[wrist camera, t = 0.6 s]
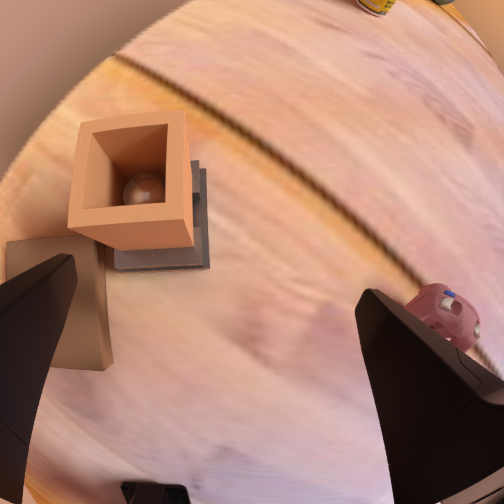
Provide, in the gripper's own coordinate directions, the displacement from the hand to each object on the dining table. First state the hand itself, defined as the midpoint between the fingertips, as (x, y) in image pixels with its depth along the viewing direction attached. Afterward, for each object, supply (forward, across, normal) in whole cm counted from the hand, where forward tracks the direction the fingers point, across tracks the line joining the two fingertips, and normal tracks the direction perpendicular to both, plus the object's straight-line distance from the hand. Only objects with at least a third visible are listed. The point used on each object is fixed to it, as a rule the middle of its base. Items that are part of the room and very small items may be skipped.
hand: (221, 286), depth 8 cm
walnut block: (+10, +12, +11) cm, 19 cm away
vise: (+14, +4, +5) cm, 15 cm away
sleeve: (+11, +4, +3) cm, 12 cm away
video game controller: (+9, -21, +10) cm, 26 cm away
